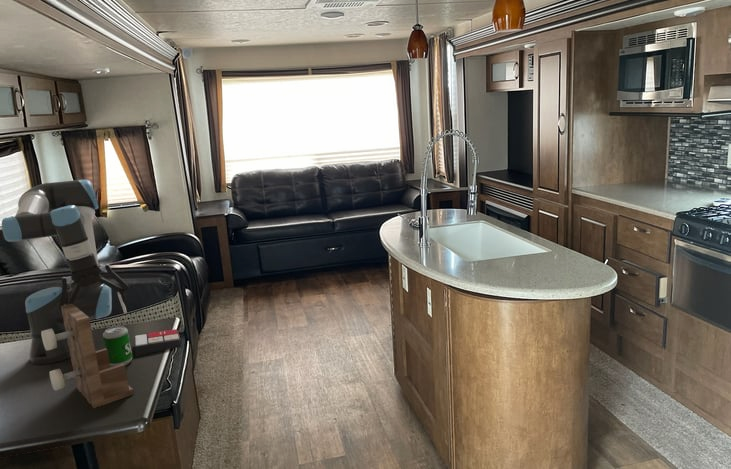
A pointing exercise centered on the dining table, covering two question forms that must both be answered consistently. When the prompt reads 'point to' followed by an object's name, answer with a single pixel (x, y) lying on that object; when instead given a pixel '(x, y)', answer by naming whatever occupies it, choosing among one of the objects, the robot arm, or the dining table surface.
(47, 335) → the upper knob
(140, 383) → the dining table surface
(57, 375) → the lower knob
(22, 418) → the dining table surface
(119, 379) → the knob panel
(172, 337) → the calculator
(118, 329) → the soda can
